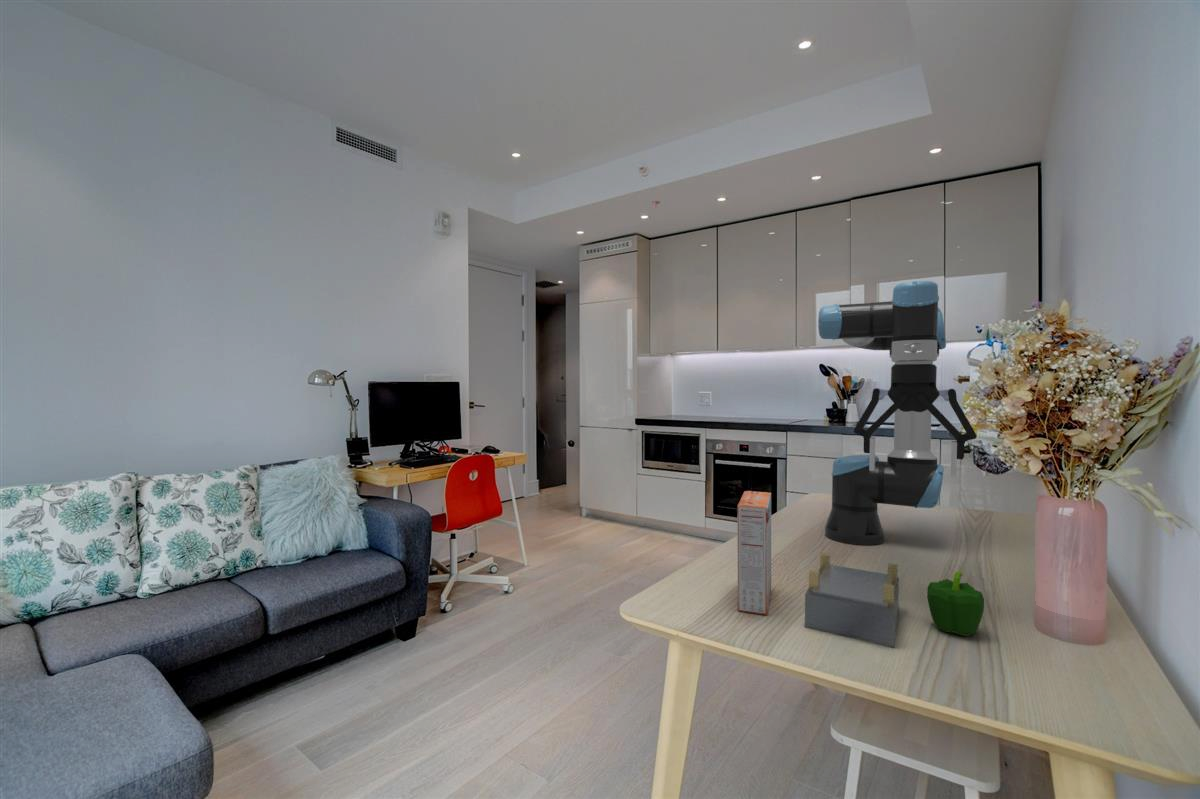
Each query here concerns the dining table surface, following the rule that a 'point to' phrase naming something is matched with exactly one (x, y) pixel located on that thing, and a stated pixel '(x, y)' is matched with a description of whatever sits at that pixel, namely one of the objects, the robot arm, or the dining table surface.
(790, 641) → the dining table surface
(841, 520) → the robot arm
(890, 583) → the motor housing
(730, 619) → the dining table surface
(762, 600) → the cracker box
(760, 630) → the dining table surface
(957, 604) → the bell pepper
